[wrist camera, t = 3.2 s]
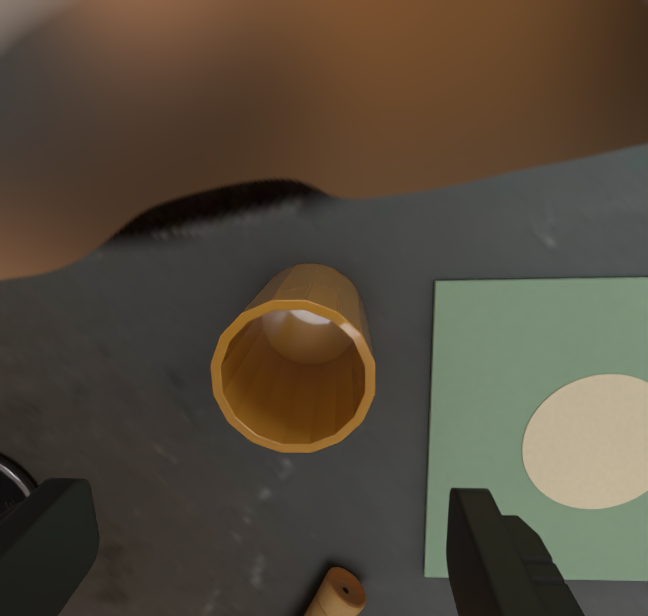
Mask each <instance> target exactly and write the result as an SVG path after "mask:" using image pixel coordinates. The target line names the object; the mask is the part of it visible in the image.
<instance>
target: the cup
mask: <svg viewBox="0 0 648 616" xmlns="http://www.w3.org/2000/svg"><path fill="white" fill-rule="evenodd" d="M210 367H211V378H212V388H213V395H214V398H215V399H216V401H217V403H218V405H219V407H220V409H221V410H222V412H223V414H224V416H225V418H226V420H227V421H228V422H229V423H230V424H231V425H232V426H233V427H234V428H235V429H237V430H238V431H239V432H240V433H241V434H243V435H244V436H245V437H246V438H247V439H248V440H250V441H252V442H253V443H256V444H258V445H261V446H264V447H267V448H269V449H272V450H275V451H278V452H282V453H311V452H315V451H317V450H320V449H323V448H326V447H328V446H331V445H334V444H336V443H339V442H341V441H342V440H343V439H344V438H345V437H346V436H348V435H349V434H350V433H351V432H352V431H353V430H354V429H355V428H356V427H357V426H359V425H360V424H361V423H362V421H363V420H364V418H365V416H366V414H367V411H368V409H369V407H370V405H371V403H372V400H373V398H374V396H375V360H374V355H373V350H372V344H371V339H370V334H369V329H368V323H367V318H366V313H365V308H364V305H363V303H362V300H361V297H360V295H359V293H358V291H357V289H356V288H355V286H354V285H353V284H352V282H351V281H350V280H349V279H348V278H347V277H345V276H344V275H343V274H342V273H340V272H338V271H337V270H335V269H333V268H331V267H328V266H325V265H320V264H311V263H307V264H299V265H295V266H292V267H289V268H287V269H285V270H283V271H281V272H280V273H278V274H276V275H275V276H274V277H273V278H272V279H271V280H270V281H269V282H268V284H267V285H266V286H265V287H264V288H263V289H262V290H261V291H260V292H259V293H258V294H257V296H256V297H255V298H254V299H253V300H252V301H251V302H250V303H249V304H248V306H247V307H246V308H245V309H244V310H243V311H242V312H241V313H240V314H239V316H238V317H237V318H236V319H235V320H234V321H233V322H232V323H231V324H230V325H229V327H228V328H227V329H226V330H225V331H224V332H223V333H222V334H221V336H220V337H219V340H218V343H217V346H216V349H215V352H214V355H213V358H212V361H211V366H210Z"/></svg>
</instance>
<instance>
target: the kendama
mask: <svg viewBox="0 0 648 616" xmlns="http://www.w3.org/2000/svg"><path fill="white" fill-rule="evenodd" d="M365 605H366V594H365V591H364V589H363V587H362V585H361V583H360V582H359V581H358V580H357V578H356V577H355V576H354V575H352V574H351V573H350V572H348V571H347V570H345V569H343V568H340V567H333V568H331V569H330V570H329V571H328V573H327V574H326V576H325V578H324V580H323V582H322V584H321V586H320V588H319V590H318V592H317V593H316V595H315V597H314V599H313V601H312V602H311V604H310V606H309V607H308V609H307V611H306V613H305V614H304V616H357V615H358V614H359V613H360V611H361V610H362V609H363V608H364V606H365Z"/></svg>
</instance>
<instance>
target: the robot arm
mask: <svg viewBox="0 0 648 616" xmlns="http://www.w3.org/2000/svg"><path fill="white" fill-rule="evenodd" d="M98 548H99V531H98V526H97V520H96V514H95V508H94V503H93V497H92V491H91V487H90V484H89V482H88V481H87V480H86V479H73V478H50V479H47V480H45V481H44V482H43V483H42V484H40V485H39V486H38V487H37V488H35V486H34V485H33V483H32V482H31V480H30V479H29V478H28V477H27V476H26V475H25V474H24V473H23V472H22V471H21V470H20V469H19V468H18V467H17V466H15V465H14V464H13V463H11V462H10V461H8V460H7V459H5V458H3V457H1V456H0V616H58V614H59V613H60V611H61V610H62V609H63V607H64V606H65V604H66V603H67V601H68V600H69V599H70V597H71V596H72V594H73V593H74V591H75V590H76V589H77V587H78V586H79V584H80V583H81V581H82V580H83V579H84V577H85V576H86V574H87V573H88V571H89V570H90V568H91V567H92V565H93V563H94V561H95V558H96V555H97V552H98ZM446 560H447V569H448V576H449V581H450V585H451V589H452V592H453V596H454V600H455V604H456V608H457V612H458V615H459V616H585V615H584V614H583V612H582V610H581V608H580V606H579V605H578V603H577V601H576V599H575V598H574V596H573V594H572V592H571V591H570V589H569V587H568V585H567V584H565V583H564V578H563V576H562V575H561V573H560V571H559V569H558V568H557V566H556V564H555V563H553V560H552V557H551V555H550V553H549V552H548V550H547V548H546V546H545V545H544V543H543V541H542V539H541V537H540V536H539V534H537V533H536V532H535V531H534V530H533V529H532V528H531V527H530V526H529V525H528V524H527V523H525V522H524V521H523V520H522V519H521V518H520V517H519V516H518V515H501V512H500V510H499V508H498V506H497V504H496V502H495V500H494V498H493V496H492V494H491V492H490V490H489V489H487V488H451V490H450V494H449V508H448V524H447V540H446Z"/></svg>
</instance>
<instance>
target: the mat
mask: <svg viewBox="0 0 648 616" xmlns="http://www.w3.org/2000/svg"><path fill="white" fill-rule="evenodd" d="M451 488H487V489H489V490H490V492H491V494H492V496H493V498H494V500H495V502H496V504H497V506H498V508H499V510H500V512H501V515H518V516H519V517H520V518H521V519H522V520H523V521H524V522H525V523H527V524H528V525H529V526H530V527H531V528H532V529H533V530H534V531H535V532H536V533H537V534H539V536H540V537H541V539H542V541H543V543H544V545H545V546H546V548H547V550H548V552H549V553H550V555H551V557H552V560H553V563H555V564H556V566H557V568H558V569H559V571H560V573H561V575H562V576H563V578H564V580H624V581H648V277H605V278H548V279H491V280H435V281H434V301H433V328H432V354H431V381H430V408H429V435H428V462H427V489H426V515H425V542H424V569H423V573H424V577H442V578H449V576H448V569H447V560H446V540H447V524H448V508H449V494H450V490H451Z"/></svg>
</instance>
